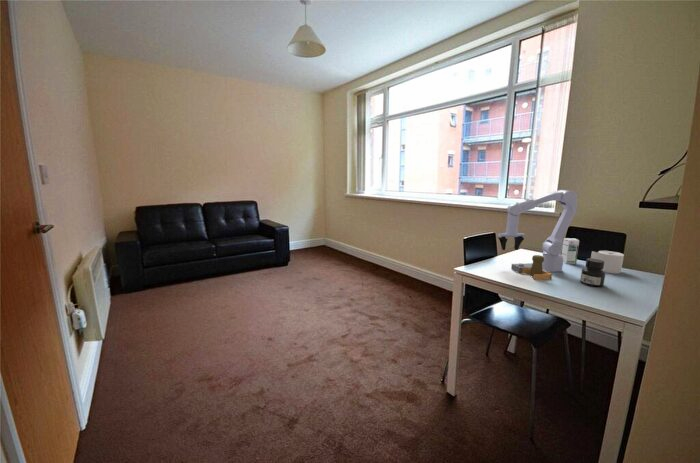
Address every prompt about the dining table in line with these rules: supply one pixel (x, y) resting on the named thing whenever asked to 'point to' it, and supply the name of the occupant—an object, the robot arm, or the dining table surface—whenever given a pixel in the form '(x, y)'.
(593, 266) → the ink bottle
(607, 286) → the dining table surface
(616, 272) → the toilet tissue
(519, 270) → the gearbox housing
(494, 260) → the dining table surface
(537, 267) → the cork
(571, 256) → the syrup box
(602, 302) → the dining table surface
